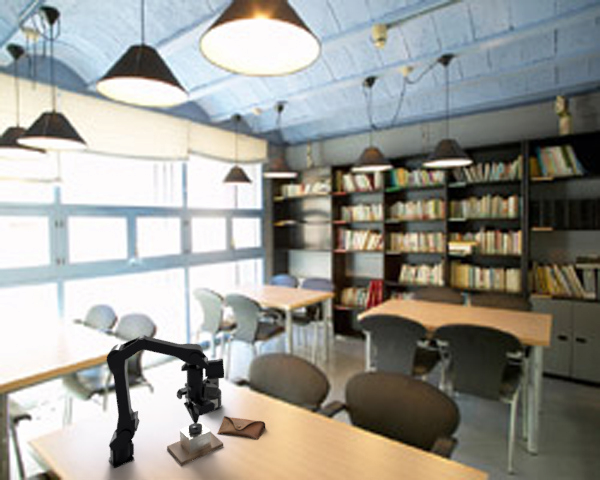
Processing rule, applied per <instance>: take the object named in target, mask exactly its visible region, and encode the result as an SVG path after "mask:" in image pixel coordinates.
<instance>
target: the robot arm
mask: <svg viewBox="0 0 600 480" xmlns="http://www.w3.org/2000/svg"><path fill="white" fill-rule="evenodd" d="M202 347H203V346H202V345H200V344H198V343H176V342H172V341H168V340H164V339H160V338H154V337H150V336H147V335H146V334H141V335H139V336H138V337H136V338H133V339H130V340H128V341H126V342H125V343H118V344H115V345H114V346H113V347H112V348H111V350H110V351H109V352H108V354H107V356H106V363H107V367H108V368H109V371H110V373H111V374H112V376H113V382H114V383H113V384H114V390H115V391H114V392H115V399H116V406H117V413H118V416H117V424H116V428H115V430H114V432H113V435H112V436H111V437H112V438H111V440H110V441H109V444H108V447H109V449H110V450H109V453H110V454H109V455H110V456H109V457H108V460H109V462H110V464H111V465H112V468H114V469H115V468H118V467H120V466H123V465H125V464H127V463H130V462H132V461H134V460H135V457H134V455H135V448H134V447H135V445H134V442H133V438H134V437H135V434H136V432H137V431H138V427H139V424H140V419H139V411H138V410H137V411H134V410H133V408H132V402H131V401H132V400H131V394H130V393H131V391H130V386H129V385H130V384H129V377H128V376H129V375H128V364H129V359H130V358H131V357H133V356H134V355H136V354H137V353H139V352H141V351H146V352H147V351H148V352H153V353H156V354H157V353H158V354H162V355H165V356H170V357H174V358H177V359H179V360H181V361H182V362H184V364H183V365H181V369H180V371H181V372H186V382H185V383H184V387H182V388H179V389H178V390H177V391H176V398H177V399H178V400H182V399H183V396H184V399H185V401H184V402H183V405H184V407H185V408H186V411H187V413H188V415H189V416H190V419H191V420H192V422H193V423H199V419H200V416H203V415H204V416H205V415H206V414H210V413H211V412H214V411H216V410H215V404H214V403H213V402H212V401H210V400H209V399H207V400H205V399H204V398H206V397H207V395H213V396H216V394H217V391H218V386H216V385H215V384H212V383H210V379H219V380H220V379H224V378H225V369H224V368H225V367H224V359H223V358H218V359H211V360H210V359H209V358H208V357H207V356H206V354H205V353H204V349H203V348H202ZM204 377H205V378H204ZM206 378H207V379H206ZM203 380H204V381H203Z"/></svg>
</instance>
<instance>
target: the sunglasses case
mask: <svg viewBox="0 0 600 480" xmlns="http://www.w3.org/2000/svg"><path fill="white" fill-rule="evenodd" d="M265 430H266V423H265V421H263V420H252V419H247V418H238V417H230V416H227V415H225V416H223V419H222V421H221V424H220V426H219V429H218V431H217V433H216V435H226V436H235V437H240V438H249V439H252V440H259V439H260V437H261V436H262V433H263V432H264V431H265Z"/></svg>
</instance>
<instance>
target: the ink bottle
mask: <svg viewBox="0 0 600 480" xmlns="http://www.w3.org/2000/svg"><path fill="white" fill-rule="evenodd" d="M205 379H207V377H205ZM203 381H204V379H203ZM210 383H212V384H215V385H216V386H218V391H217V394H216V396H213V395H207V397H206V398H204V399H205V400H207V399H209V400H210V401H212V402H213V403H214V404H215V410H214V411H216V410H218V409H220V408H221V407H222V390H221V389H220V378H219V379H210Z"/></svg>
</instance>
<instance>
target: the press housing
mask: <svg viewBox="0 0 600 480" xmlns="http://www.w3.org/2000/svg"><path fill="white" fill-rule="evenodd" d="M198 423H200V424H202V431H200V432H199V433H195V434H192V433H189V431H188V427H189V426H186V427H184V428H182V429H180V430H179V441H180V444H181V445H182V447H183V448H184V449H185V450H186V451H187V452H188V453H189V454H192V453H195V452H197V451H199V450H201V449H203V448H206V447H208V446H210V445H211V433H212V432H211V430H210V429H209V428H208V427H207V426H206V425H205V424H204V423H202V422H201V421H200V422H199V421H198Z"/></svg>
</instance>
